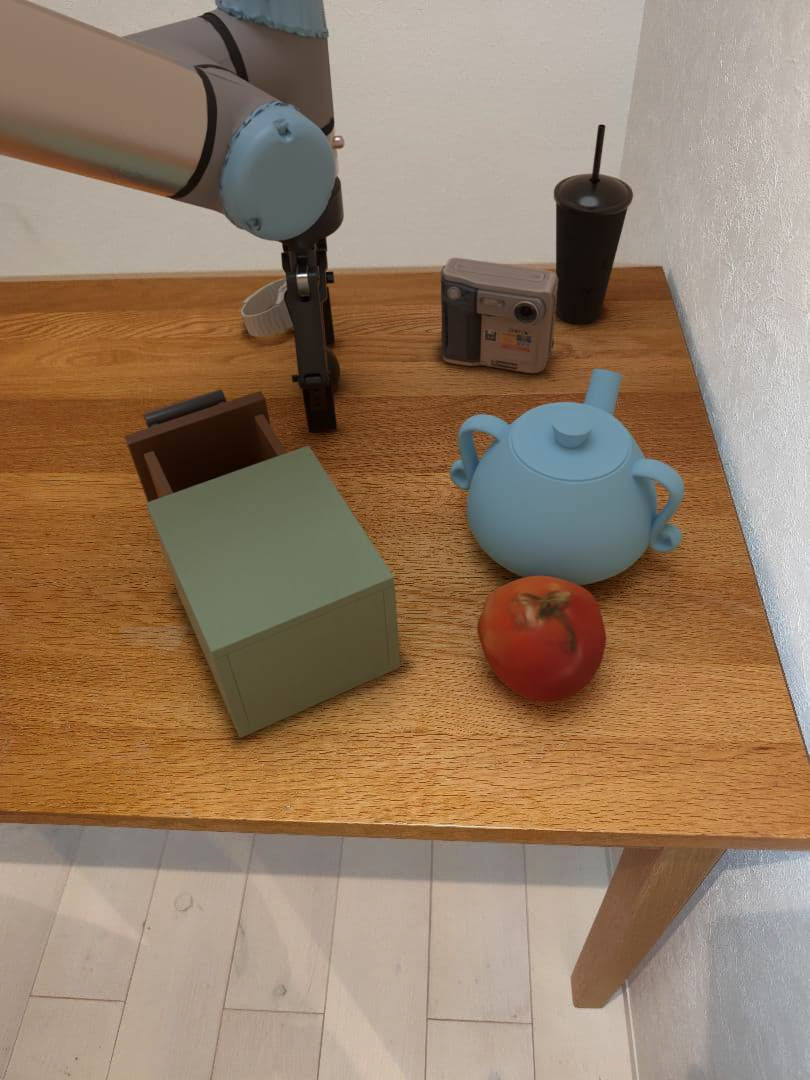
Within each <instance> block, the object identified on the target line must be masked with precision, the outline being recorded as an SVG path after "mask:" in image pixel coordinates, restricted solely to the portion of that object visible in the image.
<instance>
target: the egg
mask: <svg viewBox="0 0 810 1080" xmlns="http://www.w3.org/2000/svg"><path fill="white" fill-rule="evenodd" d="M326 352H327V365H328V370H330V374H331V382H332V390H333V391H334V390H335V389H336V388H337V387H338V385H339V383H340V379H341V366H340V363H339V360H338V358H337V355H336V354H335V352H333V350H332V349H331V348H330V347H328V345H326Z"/></svg>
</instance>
